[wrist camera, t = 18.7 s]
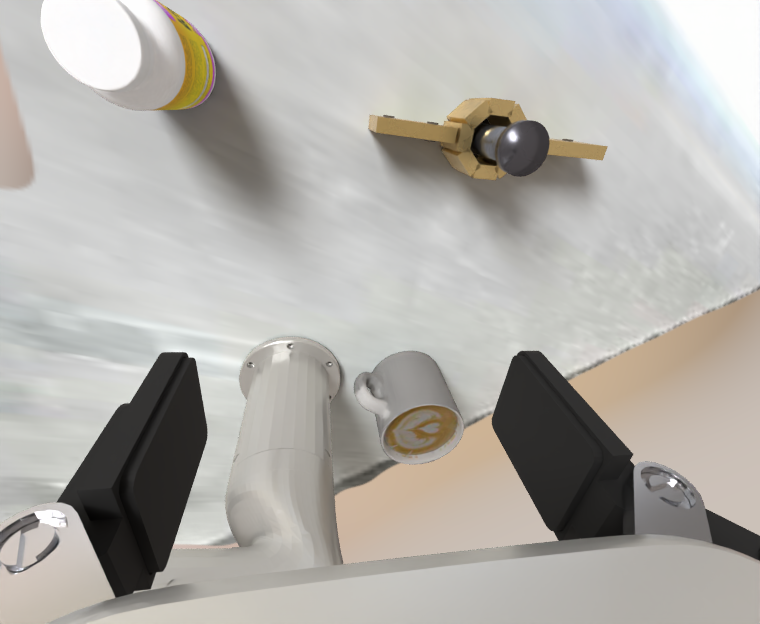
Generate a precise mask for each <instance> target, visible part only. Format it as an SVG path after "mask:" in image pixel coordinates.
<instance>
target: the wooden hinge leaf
mask: <svg viewBox="0 0 760 624" xmlns="http://www.w3.org/2000/svg"><path fill="white" fill-rule="evenodd" d="M368 129H370V130H372V131H374V132H376V133H382V134H388V135H397V136H404V137H411V138H419V139H424V140H425V141H431V142H435V141H440V142H447V143H455V140H456V135H457V130H458V128H454V127H448V126H442V125H438V123H434V122H427V123H422V122H416V121H409V120H402V119H395V118H394V116H387V115H383V117H382V116H375V115H370V119H369V128H368Z"/></svg>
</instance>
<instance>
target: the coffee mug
mask: <svg viewBox="0 0 760 624" xmlns="http://www.w3.org/2000/svg"><path fill="white" fill-rule="evenodd" d="M367 387H368V388H369V389H370V390H371V393H370V392H369V390H368V388H367ZM354 393H355V396H356V399H357V400H358V402H359V404H360V405H361V406H362V407H363V408H365V409H366V410H368V411H370V412H372V413H374V414H375V416H376V421H377V426H378V431H379V437H380V442H381V446H382V448H383V450H384V452H385V453H386V455H387V456H389V457H390V458H391V459H393V460H395V461H397V462H400V463H404V464H423V463H428V462H431V461H434V460H437V459H439V458H441V457H443V456H444V455H446V454H448V453H449V452H450V451H451V450H452V449H454V448H455V447H456V445H457V444H458V443H459V441H460V440H461V438H462V435H463V431H464V423H463V420H462V417H461V415H460V412H459V410H458V408H457V406H456V404H455V402H454V399H453V397H452V395H451V393H450V391H449V389H448V387H447V384H446V382H445V380H444V378H443V376H442V374H441V372H440V369H439V367H438V365H437V363H436V362H435V361H434V360H433V359H432V358H431V357H430V356H428V355H426V354H424V353H421V352H417V351H403V352H398V353H395V354H393V355H390V356H388V357H387V358H385V359H384V360H382V361H381V362H380V363H379V364H378V365H377V366H376V368H375V369H374V370H373V372H372V373H369V372H364V373H361V374H360V375H359V376H358V377H357V378H356V380H355V383H354Z"/></svg>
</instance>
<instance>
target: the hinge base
mask: <svg viewBox="0 0 760 624" xmlns="http://www.w3.org/2000/svg"><path fill="white" fill-rule="evenodd" d="M447 118H448V120H449V121H450V122H449V121H444V126H448V127H454V128H458V130H457V135H456V140H455V143H447V142H441V144H440V146H443V147H444V148H443V149H442V150H441V151H442V152H443V154H444V155H445V157H446V158H447V160H448V161H449V163H450V165H451V166H452V168H454V169H456V170H457V171H460V172H462V173H464V174H466V175H468V176H470V177H472V178H477V179H488V180H496V178H502V177H503V176H504V175H505V174H507V173H506V172H504V171H503V170H501V169H500V168H499V166H498V164H497V162H496V160H493V159H490V158H487V157H483V156H479V157H478V158H475V156H474V155H473V153H472V151H471V150H470V148H471V143H472V138H473V133H474V128H476V127H477V126H478V125H479V124H480V123H481V122H483V121H484V120H485V119H486V118H487V119H488V121H489V123H490V125H495V126H503V127H507V126H509V125H510V124H512V123H514V122H516V121H520V120H526V117H525V115H524V113H523V111H522V109H521V107H520V105H519V104H515V101H510V100H502V99H495V98H474V99H469V100H465V101H464V102H462V103H461V104H460V105H459V106H458V107H457V108H456V109H455V110H453V111H452V112H451V113H450V114H449V115H448V116H447ZM549 141H550V142H549V150H548V155H557V156H567V157H576V158H586V159H595V160H603V158H604V155H605V152H606V149H607V147H608V146H601V145H594V144H588V143H581V142H574V141H573V140H569V139H563V140H556V139H549Z"/></svg>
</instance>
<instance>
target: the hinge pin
mask: <svg viewBox="0 0 760 624" xmlns="http://www.w3.org/2000/svg"><path fill="white" fill-rule="evenodd" d="M549 142H550V141H549V135H548V132H547V130H546V129H545V127H544V126H543V125H542V124H540V123H538V122H536V121H529V120H520V121H516V122H514V123H512V124H510V125H509V126H507V127H503V126H495V125H487V124H479V125H478V126H477V127H476V128H474V133H473V138H472V143H471V148H470V150H471V151H472V153H474V154H477V155H480V156H483V157H487V158H490V159H493V160H496V162H497V164H498V166H499V168H500V169H501V170H503V171H504V172H506V173H508V174H511V175H514V176H526V175H529V174H531V173H533V172H534V171H535V170H537V169H538V168H539V167H540V166H541V165H542V163H543V162H544V160H545V158H546V156H547V154H548V150H549Z"/></svg>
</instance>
